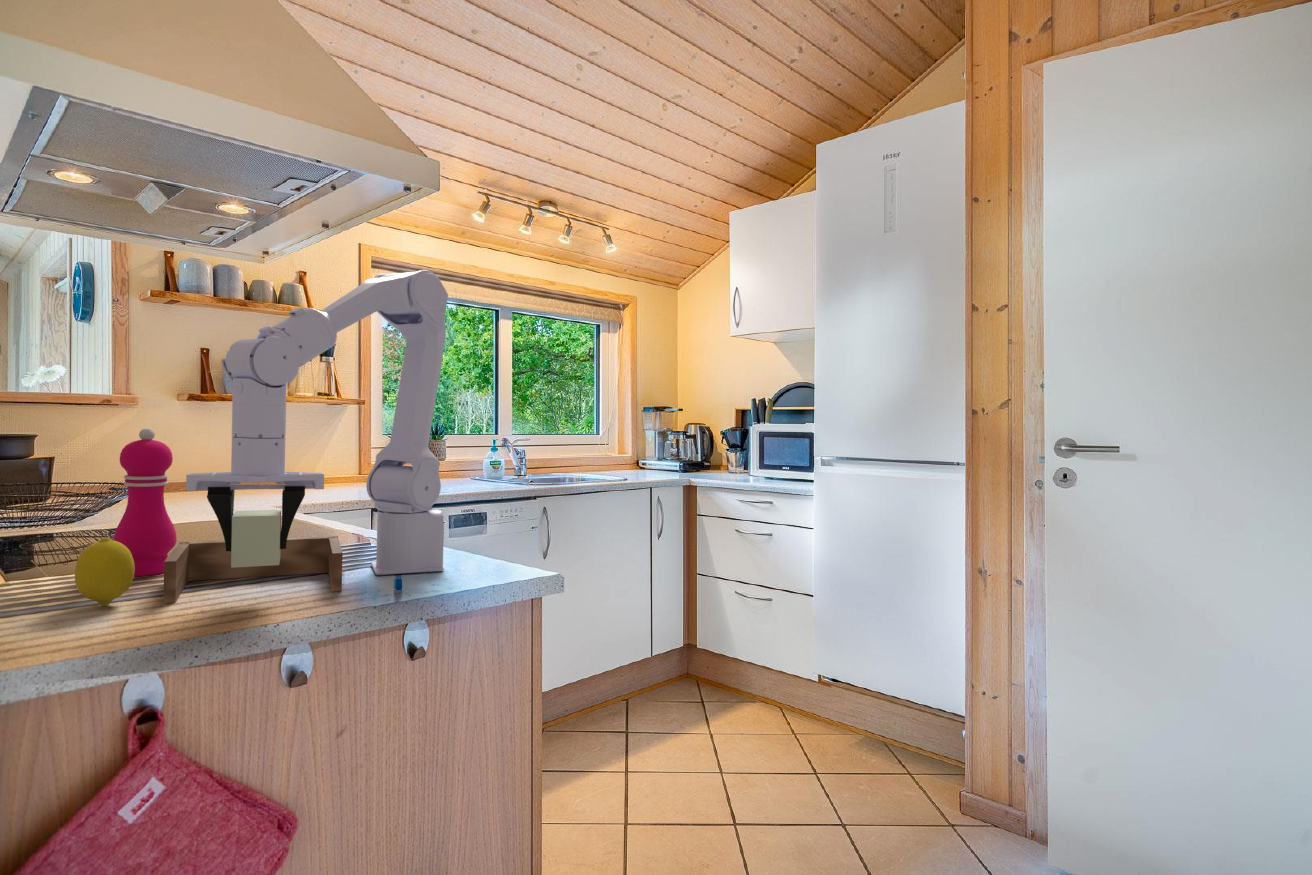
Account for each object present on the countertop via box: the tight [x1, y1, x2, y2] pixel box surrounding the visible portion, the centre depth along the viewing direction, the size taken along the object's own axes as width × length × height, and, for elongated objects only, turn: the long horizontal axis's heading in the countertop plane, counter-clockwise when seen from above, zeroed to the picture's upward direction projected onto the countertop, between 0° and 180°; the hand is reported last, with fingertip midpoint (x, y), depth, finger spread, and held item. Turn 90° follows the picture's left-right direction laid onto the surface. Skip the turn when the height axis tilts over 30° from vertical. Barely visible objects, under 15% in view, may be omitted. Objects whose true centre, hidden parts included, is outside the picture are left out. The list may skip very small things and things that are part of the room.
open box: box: [163, 535, 344, 604], centre depth 95 cm, size 19×13×5 cm, turn 117°
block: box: [231, 509, 282, 568], centre depth 87 cm, size 5×5×6 cm
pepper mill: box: [112, 427, 178, 578], centre depth 99 cm, size 7×7×20 cm
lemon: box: [74, 536, 135, 607], centre depth 83 cm, size 6×6×8 cm
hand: (256, 548), depth 87 cm, fingers closed on block, 5 cm apart
